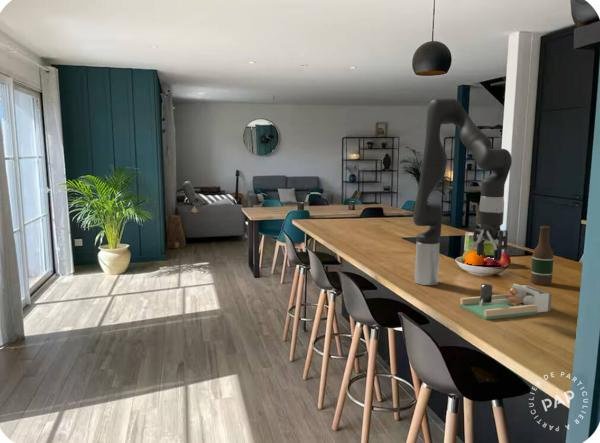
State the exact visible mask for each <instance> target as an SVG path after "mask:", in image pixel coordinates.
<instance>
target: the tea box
mask: <svg viewBox="0 0 600 443" xmlns="http://www.w3.org/2000/svg"><path fill="white" fill-rule="evenodd" d="M473 234H474V231H473V232H472V231H471V232H469V231H465V234H464V236H465V237H464V247H463V253H464V252H465V251H467V250H468V249H471V248H477V244H476V242H475V241H473ZM477 238H478V235H477ZM496 240H497V239H496ZM497 246H498V244H497ZM494 250H495V248H494V246H493V244H491V242H490V241H488V240H486V241H485V243H484V252H485V255H486V257H490V258H494Z"/></svg>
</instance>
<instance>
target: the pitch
mask: <svg viewBox="0 0 600 443" xmlns="http://www.w3.org/2000/svg"><path fill="white" fill-rule="evenodd" d="M480 296H481V295H480ZM480 296H471V297H461V298H460V301H459V302H460V304H459V307H460V308H462V309H464V310H466V311H468V312H470V313H472V314H474V315H476V316H478V317H480V318H482V319H484V320H487V321H488V320H493V319H494V320H495V319H504V318H505V319H506V318H512V317H513V318H515V317H522V316H533V315H538V312H537V309H538V305H536V304H533V305H524V304H522V303H520V306H514V305H511V304H509V303H508V304H498V305H488V306H481V305H479V302H480ZM504 298H506V293H502V294H492V300H494V299H504Z"/></svg>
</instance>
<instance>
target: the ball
mask: <svg viewBox="0 0 600 443" xmlns="http://www.w3.org/2000/svg"><path fill="white" fill-rule="evenodd" d="M533 302H534V297H532V296H526V297H525V298H524V299H523V303H522V304H523V305H533Z"/></svg>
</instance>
